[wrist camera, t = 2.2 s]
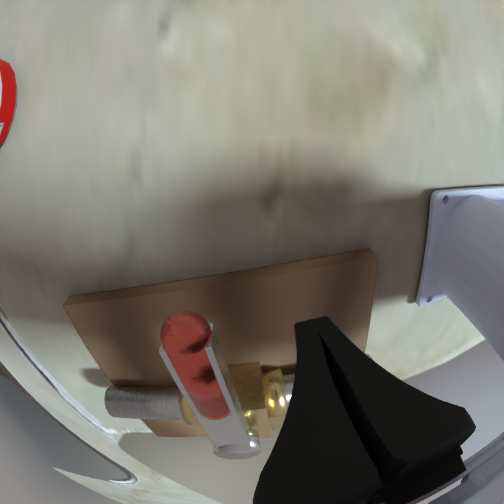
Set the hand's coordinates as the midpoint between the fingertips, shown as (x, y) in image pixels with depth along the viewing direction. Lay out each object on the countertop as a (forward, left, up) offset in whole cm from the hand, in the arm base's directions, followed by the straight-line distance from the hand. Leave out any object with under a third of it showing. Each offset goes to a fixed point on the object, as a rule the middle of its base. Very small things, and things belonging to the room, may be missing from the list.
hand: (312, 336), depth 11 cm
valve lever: (+5, +3, 0) cm, 5 cm away
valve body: (+4, +7, -4) cm, 9 cm away
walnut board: (+4, +7, -4) cm, 9 cm away
